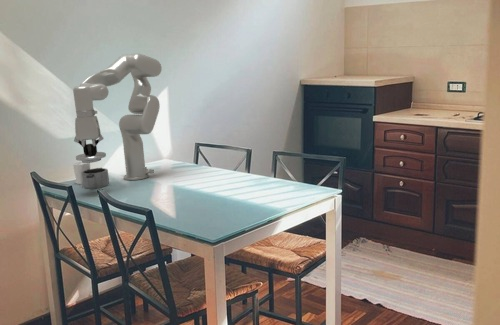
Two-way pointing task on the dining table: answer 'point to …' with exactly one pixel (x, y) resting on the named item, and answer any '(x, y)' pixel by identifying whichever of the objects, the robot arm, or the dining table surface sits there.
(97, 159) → the lid
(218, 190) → the dining table surface
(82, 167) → the white cup
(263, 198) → the dining table surface
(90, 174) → the pot
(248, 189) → the dining table surface
